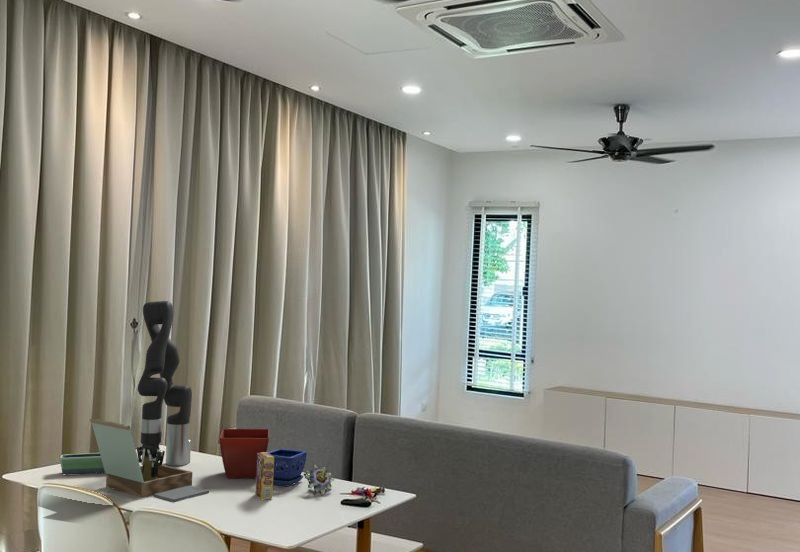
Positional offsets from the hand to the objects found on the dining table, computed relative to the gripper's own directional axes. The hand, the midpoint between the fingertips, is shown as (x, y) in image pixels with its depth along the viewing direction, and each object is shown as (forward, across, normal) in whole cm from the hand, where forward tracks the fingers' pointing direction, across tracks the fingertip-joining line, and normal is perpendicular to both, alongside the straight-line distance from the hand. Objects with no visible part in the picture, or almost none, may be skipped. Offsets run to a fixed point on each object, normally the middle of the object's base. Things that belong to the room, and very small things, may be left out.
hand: (149, 475), depth 288 cm
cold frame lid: (-12, 0, +14) cm, 19 cm away
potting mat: (+4, -18, 0) cm, 19 cm away
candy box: (+4, -43, -17) cm, 46 cm away
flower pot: (+4, -35, -36) cm, 50 cm away
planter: (+4, +33, 0) cm, 33 cm away
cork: (+4, 0, 0) cm, 4 cm away
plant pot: (+4, -14, -35) cm, 38 cm away
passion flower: (+4, -53, -35) cm, 64 cm away
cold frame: (+4, 0, 0) cm, 4 cm away
